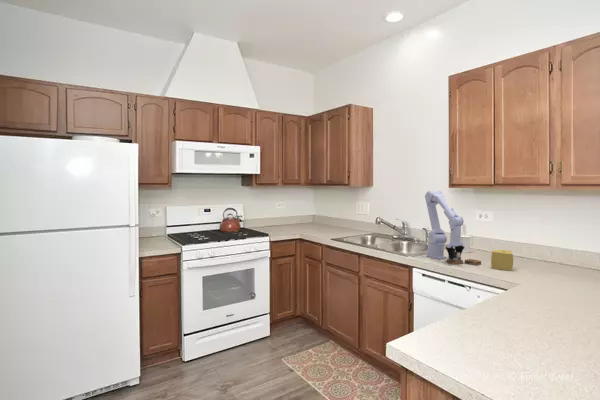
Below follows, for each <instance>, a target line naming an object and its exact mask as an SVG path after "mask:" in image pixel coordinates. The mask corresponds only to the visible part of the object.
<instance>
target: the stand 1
mask: <svg viewBox="0 0 600 400" xmlns="http://www.w3.org/2000/svg"><path fill="white" fill-rule="evenodd" d="M445 263H448V264H452V265H456V266H458V265H463V263H464V260H463V259H461V260H460V261H455V260H450V259H448V258H446V261H445Z"/></svg>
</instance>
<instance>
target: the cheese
mask: <svg viewBox="0 0 600 400" xmlns="http://www.w3.org/2000/svg"><path fill="white" fill-rule="evenodd" d="M490 264H491V269H494V270H500V271H501V270H504V271H509V272H510V271H513V268H514V267H513V266H514V254H513V252H512V250H508V249H507V250H506V249H497V250H495V249H492V251H491V260H490Z"/></svg>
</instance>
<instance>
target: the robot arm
mask: <svg viewBox="0 0 600 400" xmlns="http://www.w3.org/2000/svg"><path fill="white" fill-rule="evenodd" d="M424 198H425V204H426V209H427V213H428V218H429V221H430V226H431V231H430V232H429V236H428V237H429V239H428V240H429V242H430V243H428V246H427V257H428V258H432V259H437V260H441V259H447V256H445V252H444V251H445V250H446V252H447V254H448V257H449V259H453V258H454V252H455V251H456V252H460V257H462V251H463V249H464V246H463V242H461V235H462V227H463V224H464V218H463V216H460V215H458V214H457V212H456V211H455V210H454V208H453V207H450V206H449V204H448V203H447V201H446V199H445V195H444V193H443V191H440V190H438V191H436V190H435V191H434V190H431V191H430V190H428V191H426V193H425V194H424ZM438 204H439V206H440V207H441V208H442V209H443V213H444V215H445V217H446V218H447V220H448V225H449V228H450V234H449V235H450V237H449V238H450V239H449V243H447V241H448V237H447V235H446V232H445V231H444V230H443V229H442V228H441V224H440V223H441V222H440V219H439V215H438V210H437V205H438ZM446 243H447V244H446ZM445 245H446V246H445ZM444 249H445V250H444Z"/></svg>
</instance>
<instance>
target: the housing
mask: <svg viewBox="0 0 600 400" xmlns="http://www.w3.org/2000/svg"><path fill="white" fill-rule="evenodd" d="M447 259H449V256H448V258H447ZM450 260H455V261H460V260H462V256H460V252H456V250H455V252H454V258H453V259H450Z"/></svg>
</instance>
